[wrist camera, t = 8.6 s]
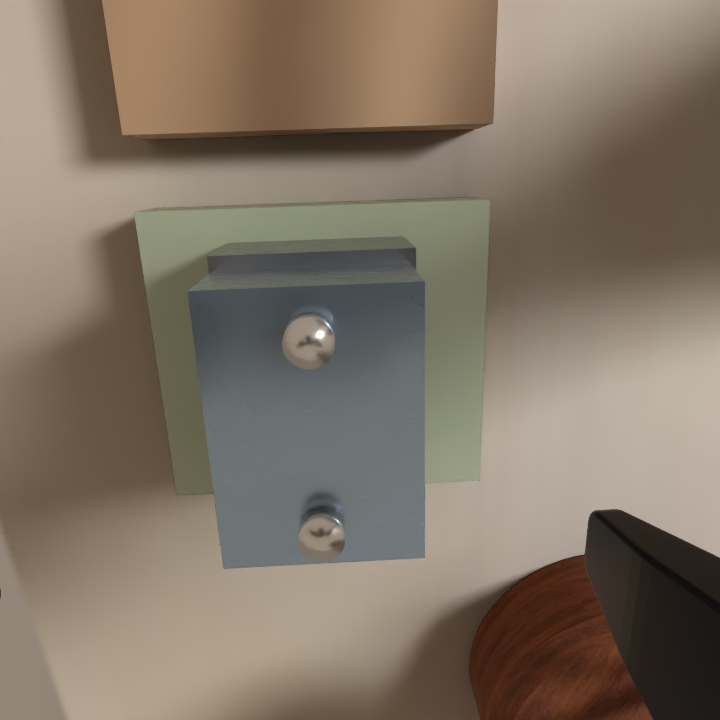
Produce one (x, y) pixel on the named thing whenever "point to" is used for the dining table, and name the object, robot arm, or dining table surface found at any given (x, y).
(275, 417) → the housing
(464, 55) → the walnut stand
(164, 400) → the green stand
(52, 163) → the dining table surface
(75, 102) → the dining table surface
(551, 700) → the brown bird figurine
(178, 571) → the dining table surface
